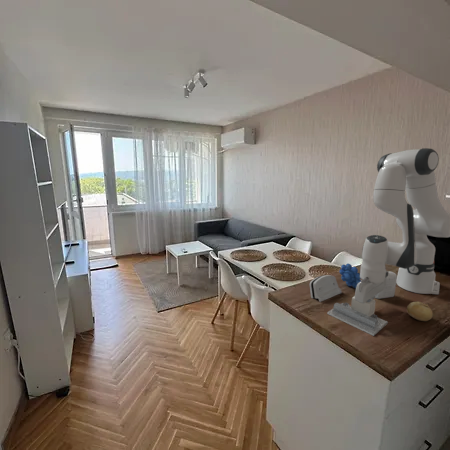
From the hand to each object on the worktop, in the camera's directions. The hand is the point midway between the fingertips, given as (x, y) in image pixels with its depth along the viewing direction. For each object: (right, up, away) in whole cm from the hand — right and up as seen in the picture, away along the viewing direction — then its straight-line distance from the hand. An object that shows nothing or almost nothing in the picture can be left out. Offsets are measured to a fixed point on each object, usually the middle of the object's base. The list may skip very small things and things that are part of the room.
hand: (368, 305), depth 104 cm
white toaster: (-13, 0, +15) cm, 20 cm away
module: (-4, -2, -3) cm, 5 cm away
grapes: (+2, +2, +22) cm, 22 cm away
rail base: (-8, -4, -6) cm, 11 cm away
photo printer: (+14, 0, +12) cm, 18 cm away
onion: (+17, -4, -6) cm, 18 cm away
